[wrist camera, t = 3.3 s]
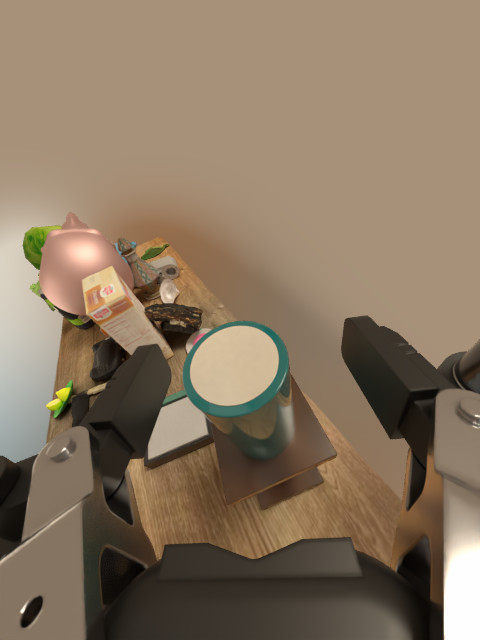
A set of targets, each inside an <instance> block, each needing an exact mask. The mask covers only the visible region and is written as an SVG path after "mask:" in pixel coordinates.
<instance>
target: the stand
mask: <svg viewBox="0 0 480 640" xmlns="http://www.w3.org/2000/svg"><path fill="white" fill-rule="evenodd" d="M290 377H291V386H292V395H293V404H294V414H295V431H294V435H293V438H292V440H291V442H290V444H289V445H288V447H287V448H286V449H285V450H284V451H283V452H282V453H280V454H279V455H277V456H275V457H273V458H270V459H263V460H259V459H254V458H250V457H248V456H246V455H245V454H243V453H242V452H241V451H239V450H238V449H237V448H236V447H235V446H234V445H233V444H232V443H231V442H230V441H229V440H228V439H227V438H226V437H225V436H224V435H223V434H222V433H221V432H220V431H219V430H218V429H217V428H216V427H215V426H214V425H213V424H212V423H211V422H210V424H211V428H212V433H213V438H214V443H215V448H216V453H217V458H218V463H219V467H220V472H221V477H222V482H223V487H224V492H225V497H226V502H227V505H234V504H236V503H238V502H240V501H243V500H245V499H247V498H249V497H251V496H253V495H256V494H257V496H258V500H259V503H260V506H261V510H265V509H267V508H269V507H271V506H273V505H276V504H278V503H280V502H282V501H284V500H286V499H288V498H291V497H293V496H295V495H297V494H299V493H301V492H304V491H306V490H308V489H310V488H312V487H314V486H316V485H319V484H321V483H323V482H324V481H323V479H322V477H321V475H320V473H319V470H318V468H317V466H319V465H321V464H323V463H325V462H327V461H330V460H332V459H334V458H336V456H337V453H336V451H335V449H334V447H333V446H332V444H331V442H330V441H329V439H328V437H327V435H326V434H325V432H324V430H323V428H322V427H321V425H320V423H319V421H318V420H317V418H316V416H315V415H314V413H313V411H312V409H311V408H310V406H309V404H308V402H307V401H306V399H305V397H304V396H303V394H302V392H301V390H300V389H299V387H298V385H297V383H296V382H295V380H294V378H293V377H292V375H291V373H290Z"/></svg>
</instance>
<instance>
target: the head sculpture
mask: <svg viewBox="0 0 480 640" xmlns="http://www.w3.org/2000/svg"><path fill="white" fill-rule="evenodd" d="M41 252H42V253H43V254H42V259H41V265H40V272H39V283H40V287H41V289H42V291H43V293H44V295H45V296H46V297H47V299H48V300H49V301H50V302H51V303H53V304H54V305H55V306H57V307H58V308H60V309H62V310H64V311H66V312H69V313H72V314H77V315H84V316H87V315H86V308H85V301H84V293H83V286H82V280H83V279H85V278H86V277H88V276H90V275H92V274H95V273H97V272H100V271H102V270H104V269H106V268H108V267H110V266H113V268H114V269H115V271H116V272H117V273H118V274H119V276H120V277H121V278H122V279H123V281H124V282H125V283H126V285H127V286H128V287H129V288H130V290H131V291H132V292H133V289H134V277H133V274H132V271H131V268H130V267H129V265H128V264H127V263H126V262H125V261H124V260H123V259H122V257H121V256H120V255H119V253H118V251H117V249H116V245H115V244H114V243H113V242H111V241H109V240H107V239H106V237H105V236H104V235H103V234H102V233H101V232H100V231H98V230H96V229H91V228H89V227H88V226H87V225H85V224H84V223H82V222H81V221H80V220H79V219H78V217H77V216H76V215H75V214H73V213H71V212H70V213H68V214H67V217H66V222H65V223H64V224H63V226H62V228H61V229H56V230H52V231H50V232H49V233H48V234H47V237H46V241H45V244H44V246H43V247H42V248H41Z"/></svg>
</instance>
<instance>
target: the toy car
mask: <svg viewBox="0 0 480 640" xmlns="http://www.w3.org/2000/svg"><path fill="white" fill-rule="evenodd" d="M92 349H93V352H94V363H93V369H92V370H91V372H90V377H91V378H92V380H94V381H98V382H100V381H103V380H105V379H107V378H111V377H112V376H113V374H114V373H115V372H116V370H117V369H118V368H119V367H120V366H121V365H122V364H123V363H124V362H125V361H126V359H125V354H124V348H123V347H122V346H121V345H120V344H118V343H117V342H116V341H115V340H114V339H113V338H112V337H111V336H110V337H108V338H106V339H104V340H103V341H101V342H99V343H97V344H95V345H93V347H92Z"/></svg>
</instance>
